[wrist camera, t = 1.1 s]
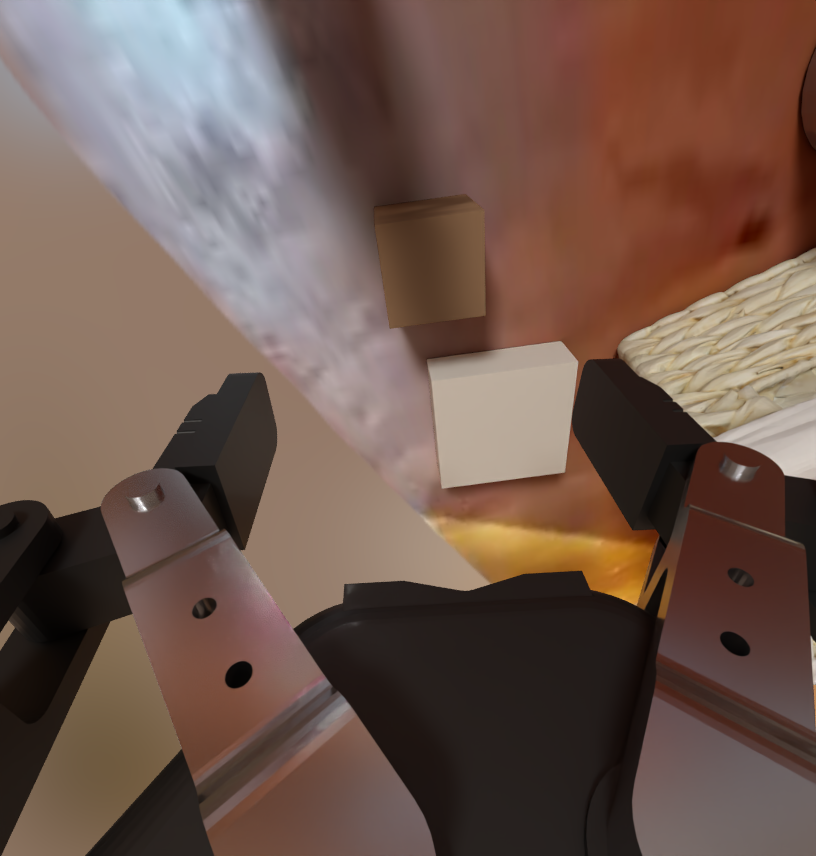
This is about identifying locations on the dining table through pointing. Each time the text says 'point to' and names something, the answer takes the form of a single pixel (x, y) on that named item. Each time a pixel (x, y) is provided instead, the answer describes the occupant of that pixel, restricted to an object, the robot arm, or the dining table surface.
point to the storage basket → (744, 365)
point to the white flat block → (502, 413)
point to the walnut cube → (432, 260)
